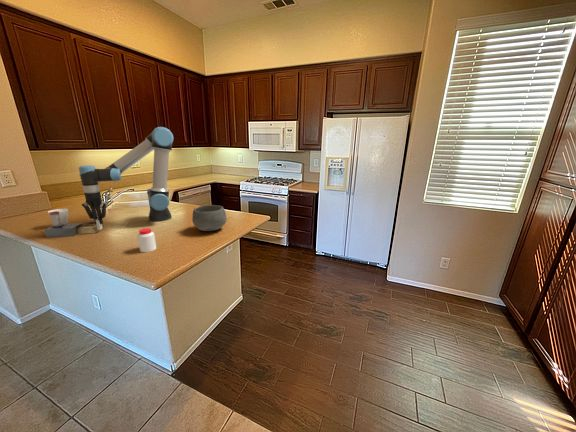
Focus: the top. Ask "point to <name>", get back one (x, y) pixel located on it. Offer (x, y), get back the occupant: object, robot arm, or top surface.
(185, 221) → the top surface
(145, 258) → the top surface
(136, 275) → the top surface
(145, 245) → the pill bottle
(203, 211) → the bowl
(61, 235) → the socket block
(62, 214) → the cup
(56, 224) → the cylinder
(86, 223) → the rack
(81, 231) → the tan square peg
